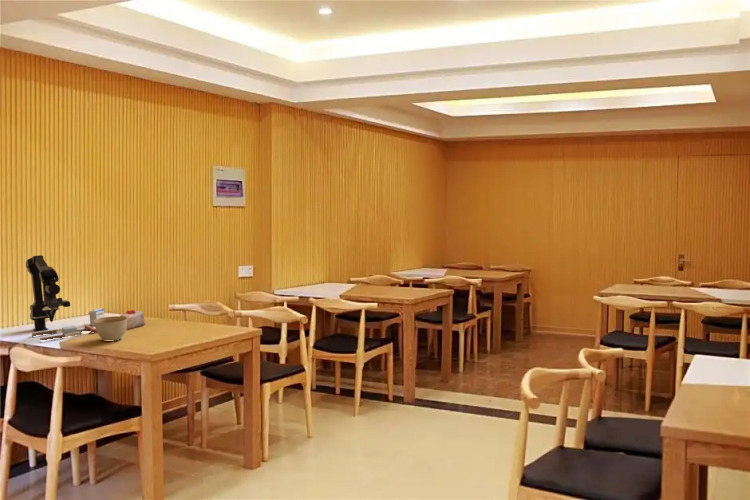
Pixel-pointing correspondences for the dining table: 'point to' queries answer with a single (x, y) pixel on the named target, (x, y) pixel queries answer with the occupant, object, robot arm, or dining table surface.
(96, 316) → the medicine box
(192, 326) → the dining table surface
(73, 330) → the block
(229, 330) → the dining table surface
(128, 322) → the food item
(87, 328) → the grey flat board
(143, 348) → the dining table surface
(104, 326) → the planter bowl
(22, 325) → the dining table surface
